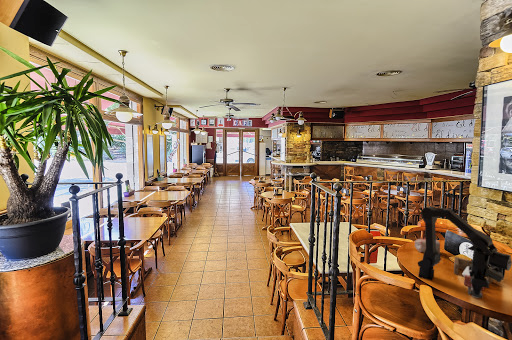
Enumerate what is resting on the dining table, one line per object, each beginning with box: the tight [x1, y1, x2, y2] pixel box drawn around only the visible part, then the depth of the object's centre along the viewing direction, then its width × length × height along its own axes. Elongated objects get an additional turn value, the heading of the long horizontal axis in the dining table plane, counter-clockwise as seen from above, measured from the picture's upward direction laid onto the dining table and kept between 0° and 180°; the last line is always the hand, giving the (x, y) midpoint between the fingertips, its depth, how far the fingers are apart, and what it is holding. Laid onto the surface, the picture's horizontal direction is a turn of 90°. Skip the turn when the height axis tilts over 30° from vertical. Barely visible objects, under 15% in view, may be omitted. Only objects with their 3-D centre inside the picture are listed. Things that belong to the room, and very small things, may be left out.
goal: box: [453, 256, 493, 284], centre depth 149 cm, size 16×12×6 cm
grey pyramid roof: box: [461, 266, 470, 278], centre depth 141 cm, size 8×9×10 cm
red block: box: [463, 275, 485, 299], centre depth 131 cm, size 8×14×8 cm, turn 144°
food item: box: [414, 236, 441, 254], centre depth 178 cm, size 14×8×10 cm, turn 84°
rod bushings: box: [467, 286, 483, 299], centre depth 131 cm, size 5×6×2 cm
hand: (476, 291), depth 127 cm, fingers open, 6 cm apart
